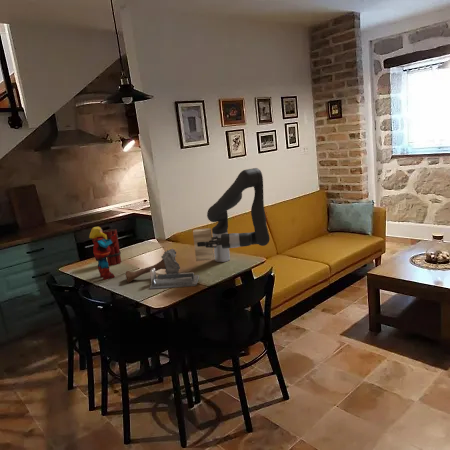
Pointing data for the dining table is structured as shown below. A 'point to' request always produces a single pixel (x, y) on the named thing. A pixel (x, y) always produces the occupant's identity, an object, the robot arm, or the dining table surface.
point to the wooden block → (202, 251)
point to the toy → (102, 250)
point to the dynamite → (113, 248)
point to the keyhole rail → (173, 280)
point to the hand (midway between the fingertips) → (198, 243)
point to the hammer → (158, 266)
